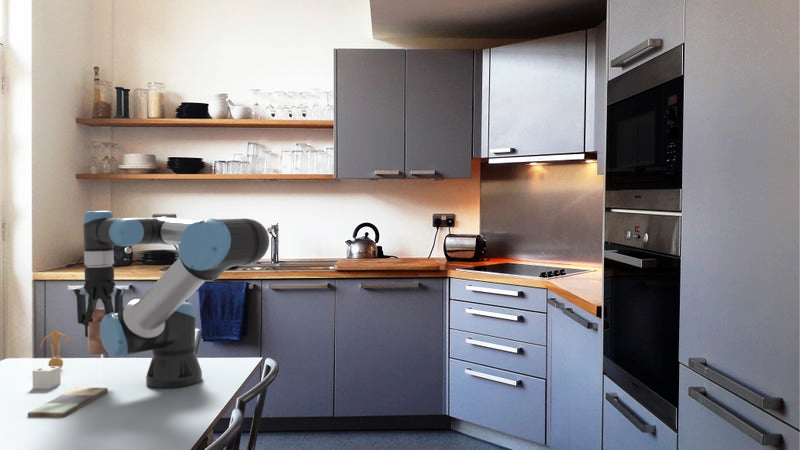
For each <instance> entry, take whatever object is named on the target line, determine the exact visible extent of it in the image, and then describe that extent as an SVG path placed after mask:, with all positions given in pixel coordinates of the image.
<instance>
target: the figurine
mask: <svg viewBox="0 0 800 450" xmlns="http://www.w3.org/2000/svg"><path fill="white" fill-rule="evenodd" d="M60 337H64V338H65V339H66V341H67V342H68V345H69V346H71V340H70V339H69V338H68V336H67V335H66V334H63V333H61V332H58V331H57V330H56V329H55V330H53V332H51V333H50V334H48V335H46V336H45V337H43V339H42V341H41V343H40V346H39V347H40V349H41V348H43V347H42V346H43V344H44V342H45V340H47V339H48V338H51V340H52V342H50V343H49V344H50V350H51V358H50V360H49V361H48V366H60V369H62V368H63V366H64V360H63V359H62V358H61V357H60V351H61V350H60V349H61V341H59V338H60ZM55 346H56V349H57V353H56V356H55V353H54V352H55V351H54V349H55Z"/></svg>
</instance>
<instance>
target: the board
mask: <svg viewBox="0 0 800 450" xmlns="http://www.w3.org/2000/svg"><path fill="white" fill-rule="evenodd" d="M108 392H109V389H108V388H107V387H81V386H80V387H79V386H78V387H77V386H76V387H74V388H73V389H71V390H69V391H67V392H65V393H62V394H61V395H59V396H57V397H55V398H53V399H51V400H50V401H48V402H46V403H44V404H42V405H39V406H37V407H36V408H34V409H32V410H30V411H29V412H28V413H27V417H28V418H30V417H31V418H34V417H35V418H37V417H38V418H39V417H40V418H41V417H43V418H65V417H68V415H70V414H73V413H74V412H76V411H78V410H79V409H81V408H83V407H85V406H86V405H88V404H90V403H91V402H93V401H95V400H97V399H98V398H100V397H101V396H103V395H105V394H107V393H108Z"/></svg>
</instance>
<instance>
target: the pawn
mask: <svg viewBox="0 0 800 450" xmlns="http://www.w3.org/2000/svg"><path fill="white" fill-rule="evenodd" d="M105 315H106V312H105V308H104V307H98V308H97V307H96V309H95V310H94V311H93V313H92V318H93V321H91V322H89V350H88V354H89V355H107V354H108V353H107V351H106V350H105V348H104V346H103V344H102V341H101V337H100V324H101V321H102V319H103V317H104V316H105Z"/></svg>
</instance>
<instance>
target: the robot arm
mask: <svg viewBox="0 0 800 450" xmlns="http://www.w3.org/2000/svg"><path fill="white" fill-rule="evenodd" d="M82 227H83V248H84V252H83V253H84V255H83V257H84V259H83V260H84V263H83V265H84V266H85V267H84V280H85V283H84V284H83V286H82V287H79V288H75V289H74V293H75V296H76V310H77V312H76V315H77V317H76V318H77V323H78V324H81V325H83V326H84V336H85V338H87V342H88V343H87V349H88V351H89V322H91V321H94V320H93V318H92V313H93V311H94V310H95V309H97V304H98V301H99V300H100V301H101V303H103V308H104V309H105V312H106V315H105V316H104V317H103V319H102V321H101V324H100V337H101V341H102V344H103V346H104V348H105V350H106V351H107V354H108V355H110V356H111V357H113V358H121V357H124V358H125V357H127V356H131V355H135V354H140V353H144V352H150V351H152V357H151V361H150V363H149V366H148V369H147V373H146V376H145V379H146V380H145V382H146V383H145V384H146V386H148V387H151V388H157V389H173V388H183V387H187V386H191V385H195V384H197V383H198V384H199V382H201V381H202V379H203V373H202V372H203V371H202V367H201V365H200V363H199V360H198V356H197V354H196V313H195V311H196V310H195V309H196V308H195V305H194V304H193V303H191V302H188V301H187V300H188V299H189V298H190V297H191V296H192V295H193V294H194V293H195V292H196V291H197V290H198V289H199V288H200V287H201V286H202V285H203V284H204V283H205V282H212V281H215V280H217V279H218V278H219V277H220V276H222V274H223V273H224V272H226V270H228V269H229V268H231V267H239V266H248V265H251V264H252V265H253V264H255V263H257V262H259V261H260V260H261V259H262V258H263V257H265V255H266V254H267V252H268V250H269V247H270V236H269V233H268V231H267V228H266V227H265V226H264V225H263V224H262V223H260V221H257V220H254V219H252V218H224V219H223V218H221V219H217V218H203V219H199V220H191V219H182V218H181V219H180V218H177V217H171V216H164V217H163V216H162V217H117V218H114V214H113V212H112V211H110V210H97V211H96V210H93V211H92V210H91V211H89V210H88V211H87V210H86V211H85V213H84V214H83V225H82ZM155 244H157V245H159V244H160V245H169V246H177V249H178V250H177V251H178V258H177V259H176V260H175V261H174V262H173V264H172V265H170V267H169V268H168V269H167V270H165V272H164V273H163V274H162V275H161V276H160V277H159V278H158V279H157V281H155V283H153V284H152V286H151V287H150V288H149V289H148V290H147V291H146V292H145V293H144V294H143V295H142V296H141V298H136V299H132V300H130V301H129V302H128V303H127V304H126V305H125V306H124V299H123V298H124V294H125V291H126V289H125V288H124V287H119V286H116V283H115V267H114V266H113V265H114V264H115V258H114V257H115V256H114V253H115V252H114V246H118V247H132V246H138V245H139V246H140V245H142V246H143V245H155ZM86 293H87V294H88V297H87V298H88V299H86ZM112 293H113V294H114V306H113V297H112ZM86 301H87V302H86Z"/></svg>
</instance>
